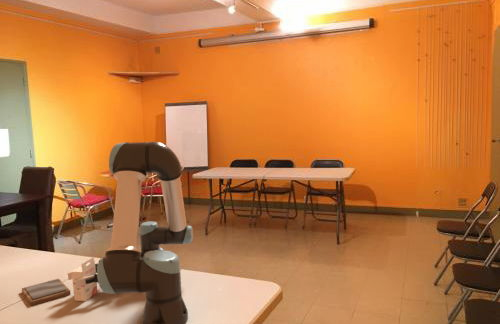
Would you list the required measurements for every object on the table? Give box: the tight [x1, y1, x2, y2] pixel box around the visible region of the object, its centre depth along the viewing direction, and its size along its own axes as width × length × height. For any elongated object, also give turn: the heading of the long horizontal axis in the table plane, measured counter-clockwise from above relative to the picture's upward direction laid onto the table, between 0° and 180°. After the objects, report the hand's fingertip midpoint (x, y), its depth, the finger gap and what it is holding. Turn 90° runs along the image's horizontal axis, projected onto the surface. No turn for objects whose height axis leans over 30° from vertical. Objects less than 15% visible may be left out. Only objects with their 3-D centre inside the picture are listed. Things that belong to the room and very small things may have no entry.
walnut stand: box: [21, 278, 71, 307], centre depth 165 cm, size 16×14×2 cm
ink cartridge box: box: [71, 256, 98, 302], centre depth 161 cm, size 9×5×15 cm, turn 168°
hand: (71, 279), depth 158 cm, fingers closed on ink cartridge box, 9 cm apart
